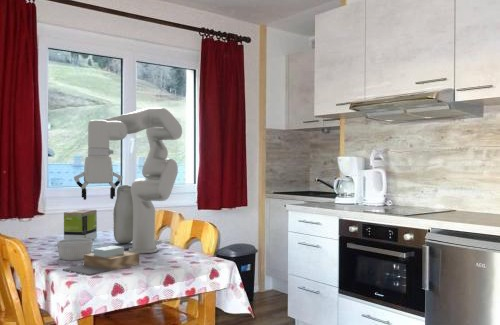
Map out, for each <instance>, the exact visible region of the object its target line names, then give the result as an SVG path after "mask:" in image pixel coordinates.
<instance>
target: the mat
mask: <svg viewBox="0 0 500 325" xmlns="http://www.w3.org/2000/svg"><path fill="white" fill-rule="evenodd" d="M63 270H66V271H65V272H69V271H71V272H70V273H74V272H76V273H75V274H79V273H82V274H81V275H84V274H86V276H94V275H97V274H102V273H107V272H110V271H112V270H111V269H105V268H100V267H94V266H88V265H84V264H81V265H77V266H72V267H71V266H70V267H66V268H62V271H63Z"/></svg>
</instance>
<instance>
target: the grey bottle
mask: <svg viewBox="0 0 500 325" xmlns="http://www.w3.org/2000/svg"><path fill="white" fill-rule="evenodd" d="M112 214H113V236H114V237H113V238H114V240H115V241H116V242H117V243H118V244H122V245H123V244H130V243H132V240H133V201H132V195H131V185H128V184H121V185H118V186H117V189H116V199H115V203H114V207H113V213H112Z"/></svg>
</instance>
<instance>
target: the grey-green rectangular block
mask: <svg viewBox="0 0 500 325" xmlns="http://www.w3.org/2000/svg"><path fill="white" fill-rule="evenodd" d="M124 251H125V247H124V246H121V245H120V246H119V245H109V246H101V247H95V248H93V253H94V256H99V257H110V256H115V255H120V254H124Z"/></svg>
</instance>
